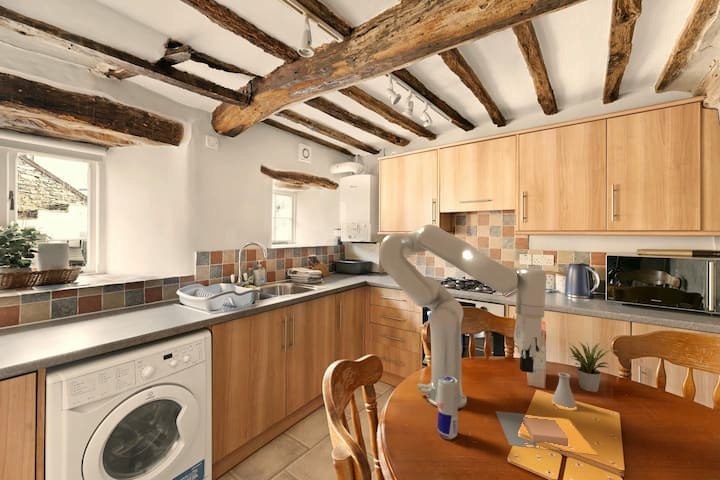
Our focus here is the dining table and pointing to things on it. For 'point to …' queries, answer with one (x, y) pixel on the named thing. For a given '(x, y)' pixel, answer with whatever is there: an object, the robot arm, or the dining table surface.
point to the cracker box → (539, 364)
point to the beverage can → (447, 407)
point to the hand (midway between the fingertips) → (526, 370)
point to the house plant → (589, 367)
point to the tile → (545, 431)
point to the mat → (513, 428)
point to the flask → (564, 392)
